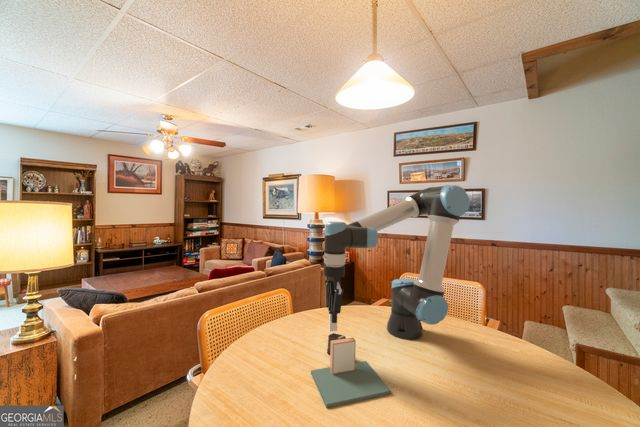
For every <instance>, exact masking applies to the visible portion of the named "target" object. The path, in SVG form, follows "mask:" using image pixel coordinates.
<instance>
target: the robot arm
mask: <svg viewBox="0 0 640 427" xmlns="http://www.w3.org/2000/svg"><path fill="white" fill-rule="evenodd" d="M469 208H470V198H469V194H468V193H467V192H466V190H465V189H464V188H463V187H461V186H459V185H456V184H455V185H454V184H453V185H450V184H446V185H442V186H441V185H440V186H430V187H427V188H424V189H421V190H420V191H418V192H415V193H413V194H411V195H409V196H407V197H405V198H404V200H403V201H401V202H398V203H396V204H393V205H391V206H389V207H386V208H384V209H382V210H379V211H377V212H374V213H372V214H370V215H367V216H365V217H363V218H361V219H358V220H356V221H353V222H352V223H349V224H347V223H346V222H344V221H327V222H326V223H325V225H324V226H325V227H324V255H323V256H322V258H323V259H324V260H323V261H324V262H323V263H324V265H323V275H324V277H326V278H327V279H325V280H324V283H325V295H326V298H325V299H326V308H327V310H328V331H329V333H330V332H337V331H338V314H341V309H342V304H343V303H342V302H343V301H342V300H343V294H344V293H345V292H344V288H341V287H342V282H341V278H344V277H345V275H346V266H345V265H346V249H371V248H376V246H377V245H378V241H379V234H378V232H380V231H382V230H384V229H387V228H389V227H391V226H394V225H396V224H398V223H400V222H402V221H404V220H407V219H409V218H417V217H419V216H423V215H427V218H428V220H429V221H430V222H429V227H428V232H427V236H426V241H425V246H424V251H423V256H422V260H421V266H420V270H419V275H418V279H416V278H415V279H414V278H397V279H393V280H392V281H391V287H390V288H391V307H390V308H391V310H390V311H391V312H390V315H389V317H388V321H387V323H386V330H387V332H388V333H389V334H391V336H395V337H396V338H399V339H404V340H405V339H406V340H416V339H417V340H418V339H419V338H421V337H422V336H423V332H424V331H423V330H424V328H423V325H422V323H424V324H427V325H430V326H432V325H437V324H439V323H440V322H442V321H443V320H444V319H445V318H446V317H447V315H448V311H449V303H448V302H447V300H446V298H445V297H444V295H445V293H446V292H445V289H444V287H443V286H442V285H443V279H444V275H445V270H446V264H447V260H448V256H449V255H448V254H449V251H450V245H451V240H452V236H453V230H454V226H455V225H456V224H458V223H459V222H460V218H461V217H462V216H463V215H464V214H466V213H467V212H468V211H469Z"/></svg>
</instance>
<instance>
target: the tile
mask: <svg viewBox="0 0 640 427" xmlns="http://www.w3.org/2000/svg"><path fill="white" fill-rule="evenodd" d="M356 345H357V344H356V339H355V338H354V337H348V338H346V339H339V340H332V341H331V348H330V354H329V356H330V362H329V363H330V366H329V367H330V371H331V373H332V374H338V373H343V372H349V371H354V370H355V363H356Z"/></svg>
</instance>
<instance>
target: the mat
mask: <svg viewBox="0 0 640 427" xmlns="http://www.w3.org/2000/svg"><path fill="white" fill-rule="evenodd" d="M310 375H311V378H312V379H313V381H314V383H315V385H316V388H317V390H318V392H319V395H320V398H321V399H322V401H323V403H324V406H325V408H326V409H328V408H332V407H337V406H341V405H347V404H351V403H355V402H360V401H365V400H369V399H374V398H378V397H383V396H387V395H391V394H392V390H391V389H390V387H389V386H388V385H387V384H386V382H384V380H383V379H382V378H381V377H380V376H379V374H378V372H376V371H375V370H374V369H373V367H372V366H371V365H370V364H369V363H368V362H367V360H362V361H357V362H355V370H354V371H349V372H343V373H338V374H332V373H331V371H330V366H328V367H323V368H316V369H311V370H310Z"/></svg>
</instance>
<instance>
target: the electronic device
mask: <svg viewBox="0 0 640 427" xmlns="http://www.w3.org/2000/svg"><path fill="white" fill-rule="evenodd" d="M339 339H346V336H345V335H343V334H339V333H334V332H333V333H331V334H329V335H328V341H327V349H326V350H327V351H326V353H327V354H328V355H330V348H331V341H332V340H339Z"/></svg>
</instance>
